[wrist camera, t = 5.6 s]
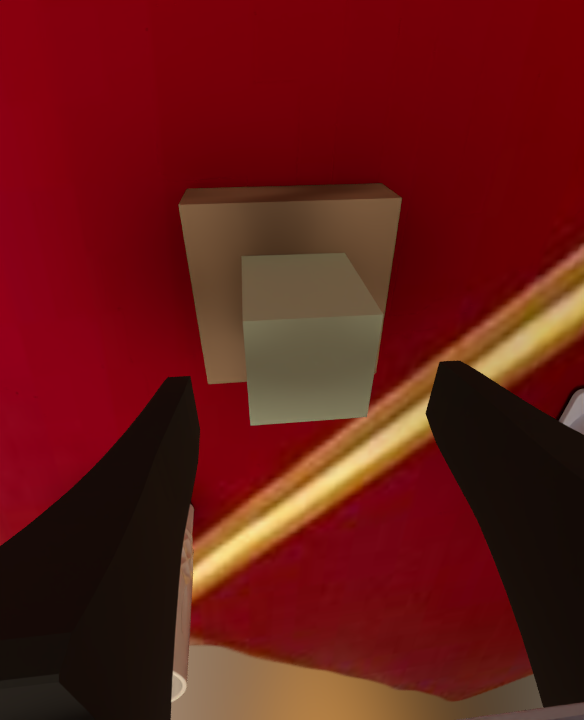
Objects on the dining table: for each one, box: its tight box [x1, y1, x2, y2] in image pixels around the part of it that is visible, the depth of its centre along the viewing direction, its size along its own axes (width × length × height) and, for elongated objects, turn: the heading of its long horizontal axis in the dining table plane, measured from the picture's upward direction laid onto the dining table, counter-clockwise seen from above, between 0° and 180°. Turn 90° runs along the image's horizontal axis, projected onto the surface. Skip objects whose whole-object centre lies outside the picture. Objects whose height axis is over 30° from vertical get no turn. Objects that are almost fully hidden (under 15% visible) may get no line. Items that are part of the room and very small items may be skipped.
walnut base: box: [179, 183, 402, 384], centre depth 17 cm, size 8×8×3 cm
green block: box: [241, 253, 383, 425], centre depth 14 cm, size 4×4×5 cm
